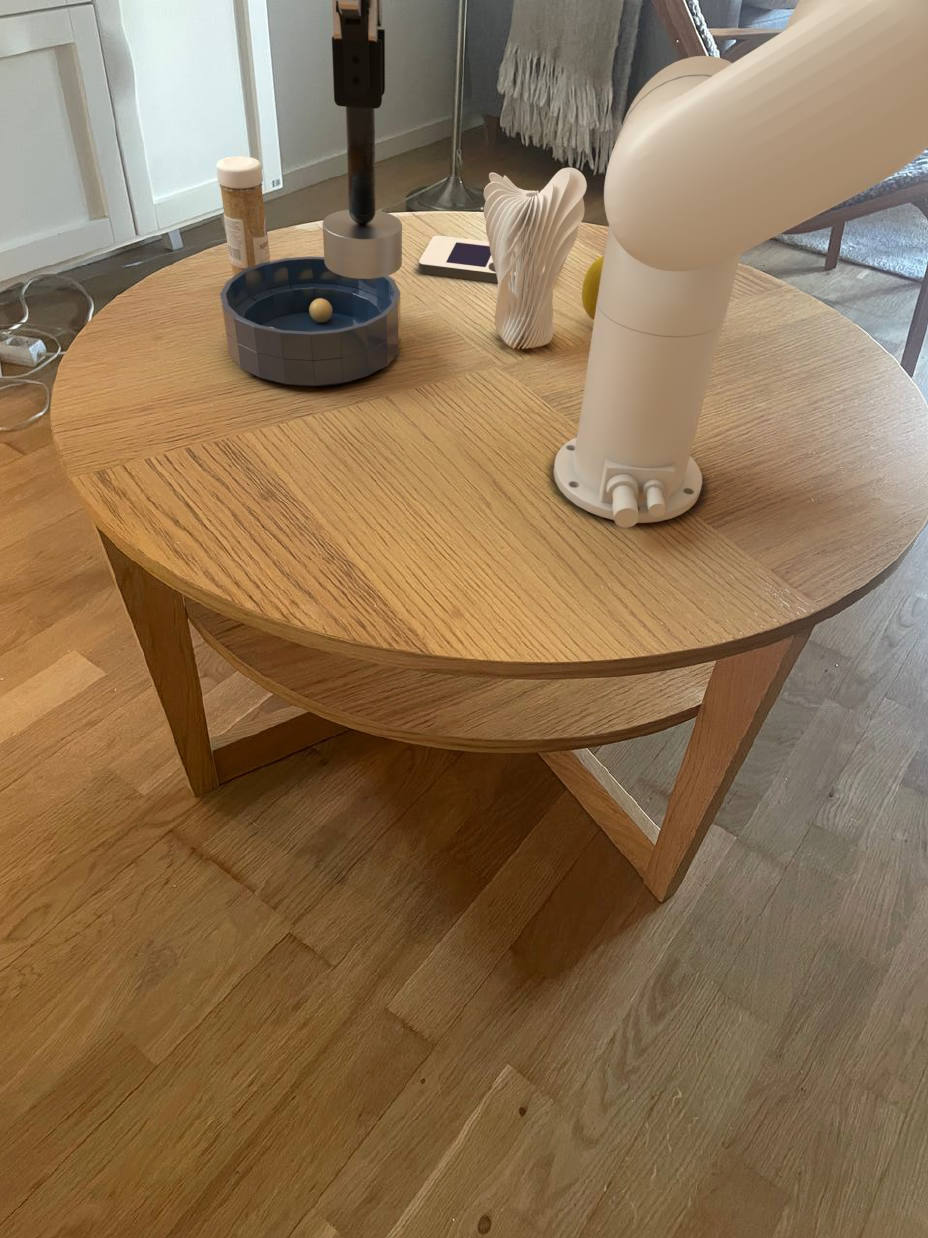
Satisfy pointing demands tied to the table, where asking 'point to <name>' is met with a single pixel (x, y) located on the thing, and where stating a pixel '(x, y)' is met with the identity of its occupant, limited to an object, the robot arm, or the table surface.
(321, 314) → the bean
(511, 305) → the shell sculpture
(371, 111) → the weighted rod stand
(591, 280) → the lemon
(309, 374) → the bowl
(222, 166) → the sprinkles bottle
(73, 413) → the table surface
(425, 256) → the handheld game console
